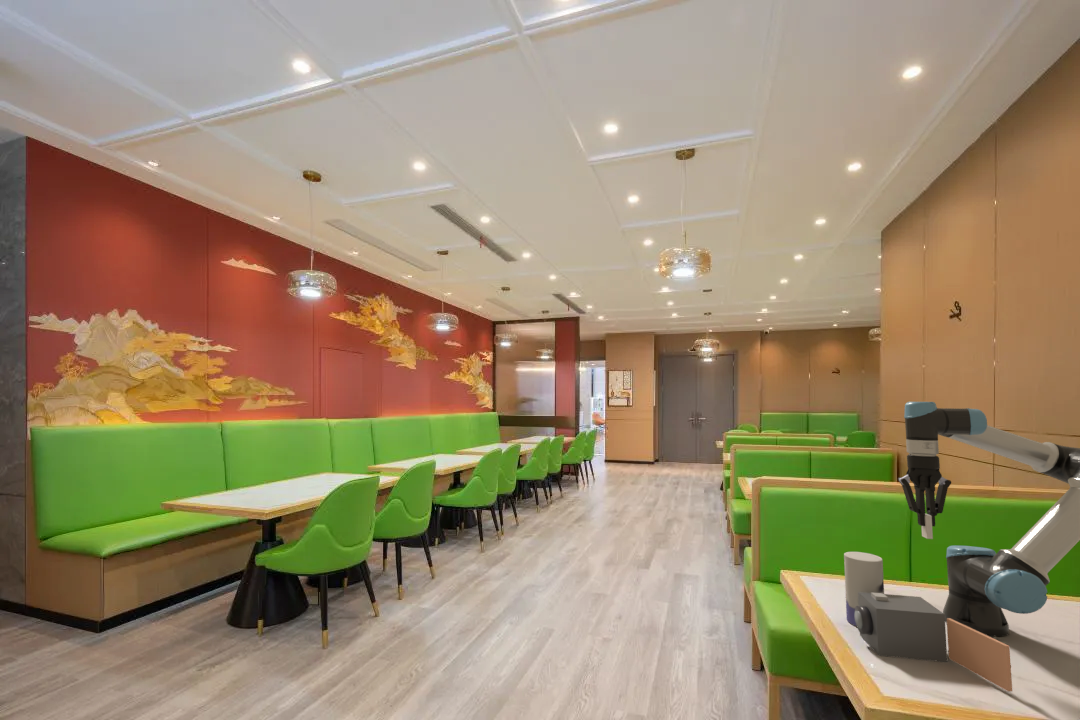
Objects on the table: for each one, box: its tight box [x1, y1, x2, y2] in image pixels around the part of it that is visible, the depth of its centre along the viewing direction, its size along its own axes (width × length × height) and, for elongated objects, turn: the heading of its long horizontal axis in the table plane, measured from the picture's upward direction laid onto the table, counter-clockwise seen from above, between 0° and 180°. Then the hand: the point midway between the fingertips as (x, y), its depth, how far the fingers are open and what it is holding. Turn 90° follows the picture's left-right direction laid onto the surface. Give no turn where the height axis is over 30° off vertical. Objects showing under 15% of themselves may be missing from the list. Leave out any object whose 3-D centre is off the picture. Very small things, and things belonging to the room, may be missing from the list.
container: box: [843, 551, 885, 627], centre depth 154 cm, size 10×10×20 cm
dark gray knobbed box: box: [855, 592, 948, 663], centre depth 139 cm, size 18×12×13 cm, turn 78°
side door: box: [946, 618, 1013, 692], centre depth 124 cm, size 15×2×10 cm, turn 6°
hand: (927, 537), depth 145 cm, fingers closed
